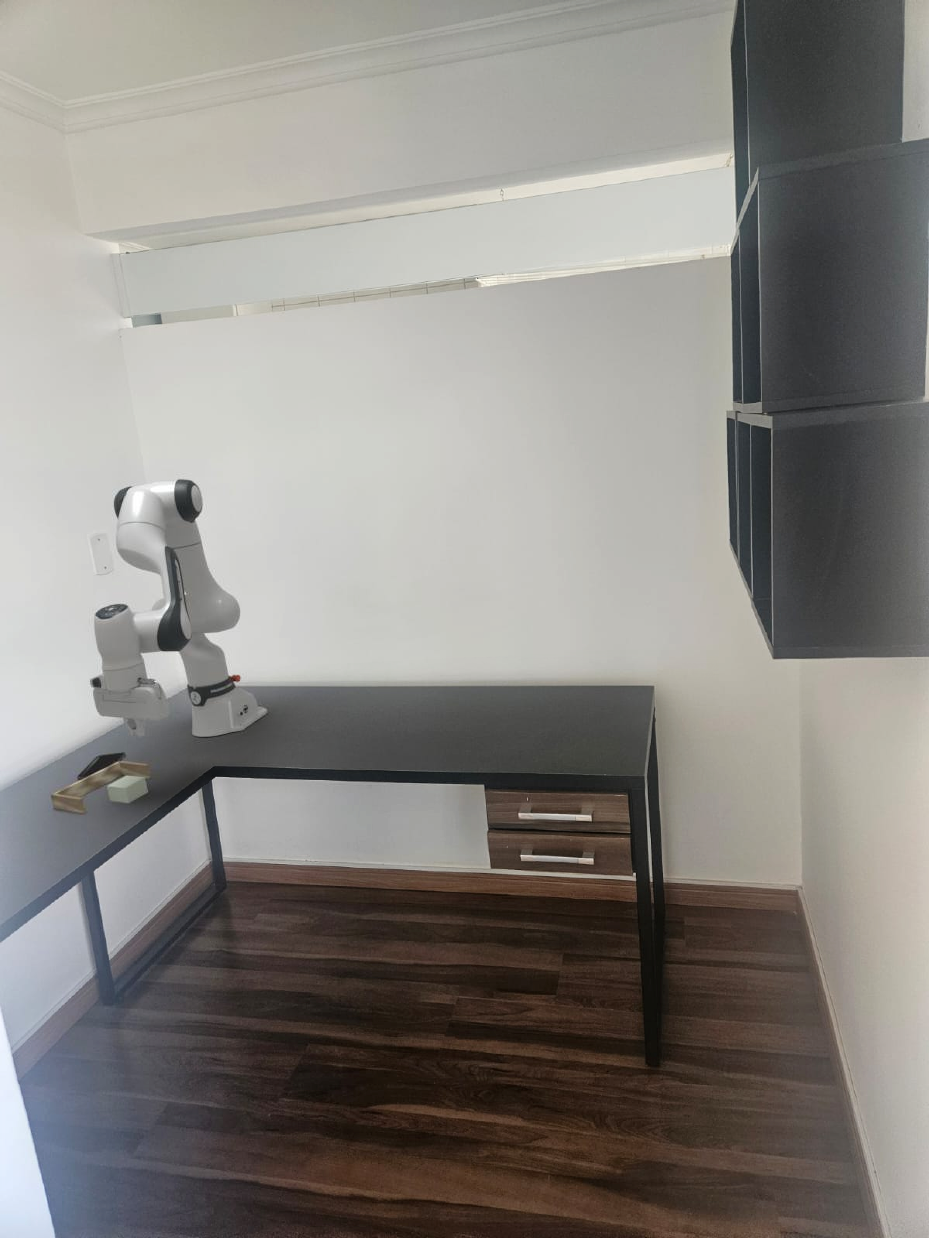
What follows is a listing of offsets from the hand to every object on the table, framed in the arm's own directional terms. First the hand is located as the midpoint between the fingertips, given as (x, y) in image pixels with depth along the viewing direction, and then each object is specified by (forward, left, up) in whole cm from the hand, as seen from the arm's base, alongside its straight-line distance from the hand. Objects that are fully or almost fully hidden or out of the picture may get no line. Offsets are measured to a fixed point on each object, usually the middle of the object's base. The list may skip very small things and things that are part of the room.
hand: (138, 735), depth 196 cm
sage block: (0, -8, -16) cm, 18 cm away
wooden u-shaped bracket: (0, -17, -16) cm, 23 cm away
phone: (-12, -32, -17) cm, 38 cm away
